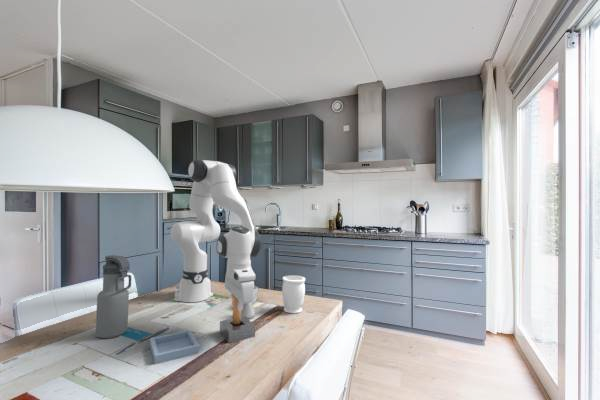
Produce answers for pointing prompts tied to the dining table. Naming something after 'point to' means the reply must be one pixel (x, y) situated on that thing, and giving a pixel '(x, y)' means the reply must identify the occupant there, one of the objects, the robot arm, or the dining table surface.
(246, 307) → the flask
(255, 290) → the tin
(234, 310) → the wooden peg
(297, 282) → the jar
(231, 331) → the metal block with hole
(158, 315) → the dining table surface
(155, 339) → the tray
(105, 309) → the water bottle
